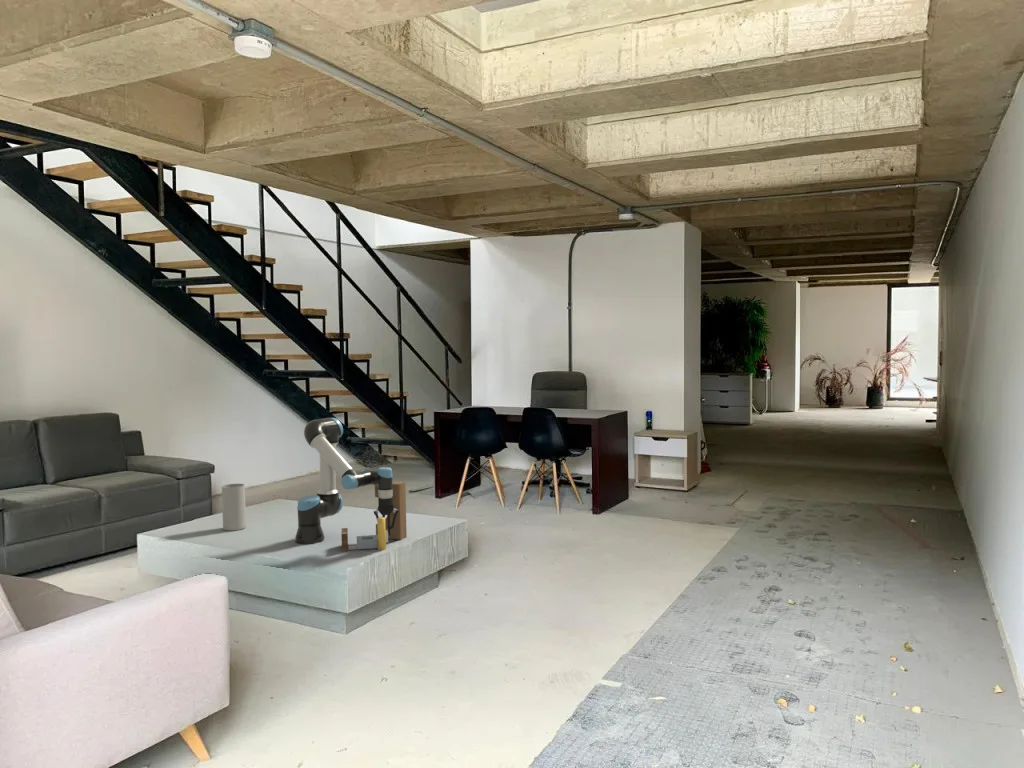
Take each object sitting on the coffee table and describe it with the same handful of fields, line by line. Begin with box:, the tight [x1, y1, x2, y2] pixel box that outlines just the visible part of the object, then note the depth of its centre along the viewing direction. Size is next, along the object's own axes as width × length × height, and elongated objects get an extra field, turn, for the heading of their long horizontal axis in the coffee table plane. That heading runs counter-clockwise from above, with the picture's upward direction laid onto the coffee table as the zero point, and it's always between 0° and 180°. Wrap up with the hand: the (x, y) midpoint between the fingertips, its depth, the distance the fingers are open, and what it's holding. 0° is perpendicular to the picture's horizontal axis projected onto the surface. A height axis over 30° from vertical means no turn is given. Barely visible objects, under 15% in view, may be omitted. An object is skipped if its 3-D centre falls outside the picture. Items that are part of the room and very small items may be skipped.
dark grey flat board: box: [348, 544, 358, 551], centre depth 395 cm, size 8×19×1 cm, turn 102°
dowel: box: [376, 516, 387, 551], centre depth 389 cm, size 4×4×16 cm
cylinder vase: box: [221, 483, 247, 532], centre depth 440 cm, size 12×12×25 cm
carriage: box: [356, 534, 378, 550], centre depth 395 cm, size 11×11×4 cm
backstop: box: [340, 527, 349, 553], centre depth 392 cm, size 13×3×9 cm, turn 12°
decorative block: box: [374, 481, 408, 541], centre depth 412 cm, size 15×8×30 cm, turn 71°
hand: (386, 541), depth 399 cm, fingers closed
